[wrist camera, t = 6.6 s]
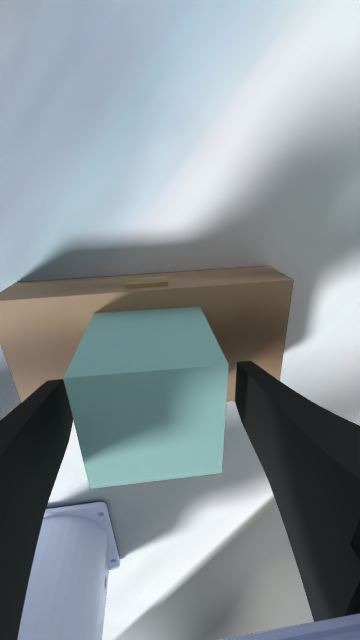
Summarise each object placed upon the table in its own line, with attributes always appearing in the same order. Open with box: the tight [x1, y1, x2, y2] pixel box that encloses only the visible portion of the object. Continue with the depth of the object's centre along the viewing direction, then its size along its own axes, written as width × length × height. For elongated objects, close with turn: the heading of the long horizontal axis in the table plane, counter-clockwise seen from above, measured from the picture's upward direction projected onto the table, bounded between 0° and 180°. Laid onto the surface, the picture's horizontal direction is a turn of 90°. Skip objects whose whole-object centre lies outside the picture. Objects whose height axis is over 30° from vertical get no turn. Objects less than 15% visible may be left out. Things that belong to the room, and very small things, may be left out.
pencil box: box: [0, 266, 293, 403], centre depth 15 cm, size 7×14×3 cm, turn 92°
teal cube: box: [64, 307, 229, 489], centre depth 12 cm, size 5×5×5 cm
